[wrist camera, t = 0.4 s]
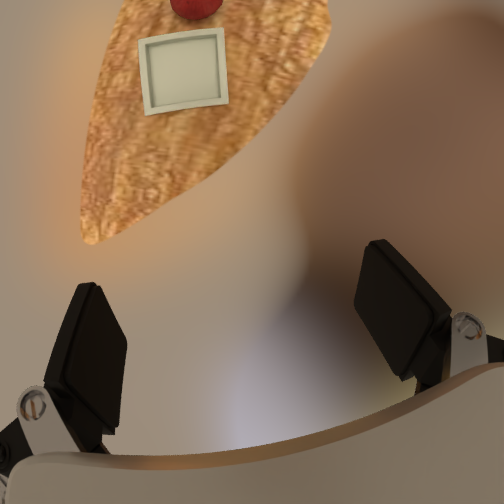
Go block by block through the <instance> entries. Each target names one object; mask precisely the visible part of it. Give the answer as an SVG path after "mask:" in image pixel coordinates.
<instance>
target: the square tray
mask: <svg viewBox="0 0 504 504" xmlns="http://www.w3.org/2000/svg"><path fill="white" fill-rule="evenodd" d="M138 51H139V65H140V76H141V86H142V95H143V104H144V112H145V116H147V115H152V114H158V113H163V112H169V111H175V110H181V109H188V108H195V107H203V106H211V105H221V104H229V99H228V85H227V70H226V56H225V40H224V27H221V28H208V29H198V30H190V31H182V32H176V33H169V34H163V35H158V36H153V37H148V38H143V39H139V40H138Z"/></svg>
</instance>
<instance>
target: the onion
mask: <svg viewBox="0 0 504 504" xmlns="http://www.w3.org/2000/svg"><path fill="white" fill-rule="evenodd" d="M222 2H223V0H170V3H171V6H172V9H173V10H174V11H175V12H176V13H177V14H178V15H179V16H181V17H184V18H186V19H193V20H198V19H202V18H206V17H208V16H210V15H212V14H213V13H215V12H216V10H217V9H218V8H219V7H220V6H221V5H222Z"/></svg>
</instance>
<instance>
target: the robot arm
mask: <svg viewBox="0 0 504 504" xmlns="http://www.w3.org/2000/svg"><path fill="white" fill-rule="evenodd" d="M354 307H355V310H356V311H357V313H358V314H359V316H360V318H361V319H362V321H363V322H364V324H365V326H366V327H367V329H368V331H369V332H370V334H371V336H372V337H373V339H374V341H375V342H376V344H377V346H378V347H379V349H380V351H381V352H382V354H383V356H384V357H385V359H386V361H387V363H388V364H389V366H390V368H391V370H392V371H393V373H394V374H395V375H396V376H399V378H400V379H401V381H402V382H403V381H405V380H407V379H409V378H411V377H413V376H415V377H416V379H417V383H416V388H415V394H414V396H413V397H411V398H408V399H406V400H404V401H402V402H400V403H397V404H395V405H393V406H390V407H388V408H386V409H383V410H381V411H378V412H376V413H373V414H371V415H368V416H365V417H363V418H360V419H357V420H354V421H352V422H349V423H346V424H343V425H340V426H336V427H333V428H330V429H327V430H324V431H320V432H316V433H313V434H309V435H305V436H302V437H298V438H294V439H289V440H285V441H281V442H276V443H271V444H266V445H261V446H255V447H250V448H243V449H236V450H229V451H221V452H212V453H202V454H187V455H163V456H144V455H112V454H111V453H110V452H109V451H108V450H107V448H106V447H105V445H104V444H103V443H102V434H105V435H115V428H116V427H118V426H119V418H120V405H121V393H122V384H123V375H124V366H125V359H126V351H127V340H126V337H125V335H124V333H123V332H122V329H121V328H120V326H119V324H118V322H117V320H116V318H115V316H114V314H113V312H112V309H111V307H110V306H109V303H108V301H107V299H106V297H105V295H104V292H103V290H102V288H101V287H100V286H97V285H96V284H95V283H94V282H90V283H82V284H79V285H78V286H77V288H76V291H75V293H74V296H73V297H72V300H71V302H70V305H69V307H68V310H67V312H66V315H65V317H64V320H63V322H62V325H61V328H60V330H59V333H58V336H57V339H56V342H55V345H54V347H53V351H52V354H51V357H50V360H49V363H48V366H47V370H46V373H45V376H44V380H43V381H44V382H45V384H44V387H41V386H37V385H36V386H31V387H29V388H27V389H26V390H25V391H24V392H23V393H22V394H21V396H20V397H19V399H18V402H17V415H18V417H17V418H16V419H15V420H14V421H13V422H11V424H9V425H8V426H7V427H6V428H5V429H4V430H2V431H1V432H0V504H504V340H501V339H499V338H496V337H493V336H489V335H487V334H486V331H485V327H484V325H483V323H482V322H481V321H480V319H479V318H477V317H476V316H474V315H473V314H470V313H468V312H459V313H457V314H455V315H454V317H453V318H451V317H450V313H451V311H452V310H451V308H450V307H449V306H448V305H447V304H446V302H445V301H444V300H443V299H442V298H441V297H440V296H439V294H438V293H437V292H436V291H435V290H434V289H433V288H432V287H431V285H429V283H428V282H427V281H426V280H425V279H424V278H423V277H422V276H421V275H420V274H419V273H418V271H417V270H416V269H415V268H414V267H413V266H412V265H411V264H410V263H409V262H408V261H407V260H406V259H405V258H404V257H403V256H402V255H401V254H400V253H399V252H398V251H397V250H396V249H395V248H394V247H393V246H392V245H391V244H390V243H389V242H388V241H387V240H385V239H381V240H375V241H371V242H370V243H369V245H368V246H366V248H365V251H364V257H363V262H362V266H361V271H360V276H359V281H358V285H357V290H356V294H355V299H354Z"/></svg>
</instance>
